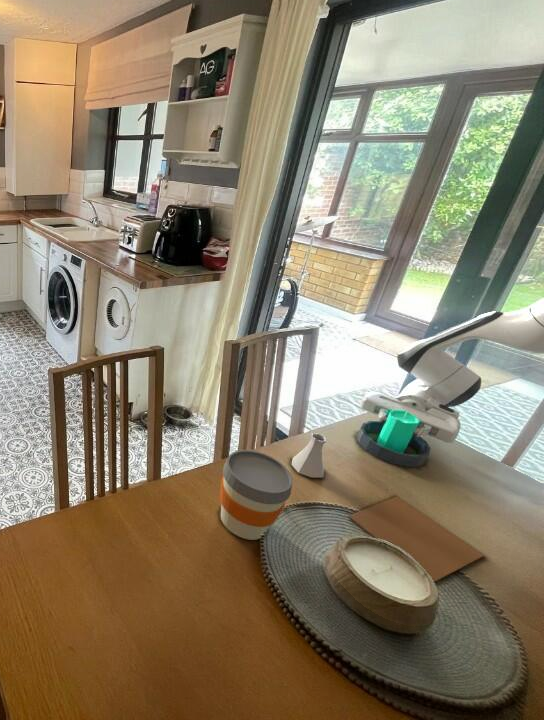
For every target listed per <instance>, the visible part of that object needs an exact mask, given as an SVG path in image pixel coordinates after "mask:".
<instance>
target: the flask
mask: <svg viewBox="0 0 544 720" xmlns="http://www.w3.org/2000/svg"><path fill="white" fill-rule="evenodd" d="M310 437H311V439H310V440H309V442H308V444H307V445H306V446H304V448H303V449H302V450H301V451H300V452H298V453H297V454H296V455H294V456H293V457H292V461H291V466H292V467H293V468H294V469H295V471H296V472H297V473H298V474H301V475H304V476H305V477H308V478H311V479H313V478H324V474H325V469H324V459H323V447H324V444H326V443H327V438H326V437H325V436H324V434H321V433H317V432H315V433H311V436H310Z"/></svg>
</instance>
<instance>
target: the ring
mask: <svg viewBox="0 0 544 720" xmlns="http://www.w3.org/2000/svg"><path fill="white" fill-rule="evenodd" d="M384 424H385V423H382V422H380V420H369V421H365V422H362V424H361V426H360V428H359V430H358V433H357V435H356V440H357V443H358V445H360V446H361V447H362V448H363V449H364V450H365V451H366V452H368V453H369V454H371V455H372V456H373V457H375V458H378V459H379V460H382V461H384V462H387V463H390V464H393V465H396V466H401V467H404V468H405V467H406V468H408V467H409V468H418V467H420V466H423V465H424V464H425V463H426V461H427V459H428V457H429V455H430V453H431V450H432V449H431V446H430V445H429V443H428V442H427V441H426V439H424V438H423V437H422V436H420V437H417V436H415V435H413V436H412V438H411V440H410V442H409V444H408V445H409V446H411V447H412V448H413V449H414V450H416V451H417V452H418V453H419V454H412V453H411V454H410V453H405V452H404V453H401V452H396V451H394V450H391V449H389V448H386V447H384V446H382V445H380V444H378V443H377V441H375V440H374V439H372V438H371V437H370V436H369V435H368V434H367V433H378V434H380V433H381V431H382V428H383V426H384Z"/></svg>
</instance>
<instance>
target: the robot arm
mask: <svg viewBox="0 0 544 720" xmlns="http://www.w3.org/2000/svg"><path fill="white" fill-rule="evenodd" d="M468 340H483V341H488V342H492V343H496V344H499V345H502V346H505V347H508V348H511V349H514V350H516V351H521V352H524V353H530V354H544V297H543V298H541V299H540V300H538V301H536V302H534V303H532V304H531V305H529V306H527V307H525V308H522V309H519V310H514V311H508V312H503V311H496V310H494V311H489V312H487V313H483V314H480V315H478V316H476V317H473V318H470V319H468V320H466V321H463V322H461V323H458V324H456V325H454V326H452V327H449V328H447V329H445V330H442V331H440V332H438V333H436V334H433V335H431V336H429V337H426V338H424V339H420V340H418V341H415V342H412V343H409V344H408V345H406V346H405V347H403V348H402V349H401V350H400V351H399V352H398V353H397V358H396V359H397V364H398V367H399V368H400V369H402V370H403V371H406V373H407V374H409V375H412V376H413V377H414V378H415V379H414V380H413V381H411V382H410V383H408V384H407V385H406V386H405V387H404V388H403V389H402V391H401V392H400V393H399V394H398V395H396V397H392V396H390V395H386V394H384V393H381V392H377V391H371V392H368V393H366V394H365V395H364V396H363V397H362V399H361V401H360V404H359V407H360V409H362V410H363V411H364V412H365V411H366V412H368V413H371V414H373V415H376V416H377V417H378V418H379V421H380V422H382V423H386V421H387V418H388V415H389V413H390V412H391V411H392V410H405V411H407V412H409V413H411V414H412V415H414V416H415V417H416V418H418V420H419V421H420V422H419V424H418V426H417V428H416V429H415V430H414V432H413V434H412V435H415V436H417V437H421V436H430V437H432V438H435V439H437V440H439V441H443V442H444V443H448V444H449V443H450V444H452V443H454V442H455V440H456V439H457V437H458V435H459V433H460V430H461V421H460V420H459V417H460V412H459V411H457V410H455V409H453V408H454V407H457V406H460V405H462V404H464V403H466V402H468V401H470V399H472V398H474V396H475V395H477V393H478V392H479V391H480V390H481V387H482V378H481V376H480V375H479V374H477V373H476V372H475V371H473V370H472V369H470V368H469V367H468V366H466V365H465V364H463V363H462V362H460V361H459V360H457V359H455V358H454V357H453V356H452V355H450V354H449V353H447V352H446V351H445V349H448V348H451V347H453V346H455V345H458V344H460V343H463V342H466V341H468Z"/></svg>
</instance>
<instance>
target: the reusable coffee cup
mask: <svg viewBox="0 0 544 720" xmlns="http://www.w3.org/2000/svg"><path fill="white" fill-rule="evenodd" d="M222 475H223V476H222V478H221V481H220V492H219V493H220V494H219V499H220V503H221V507H220V519H221V522H222V524H223V525H224V527H225V528H226V529H227V530H228V531H229V532H230V533H232V534H233V535H235V536H237V537H239V538H241V539H244V540H251V541H254V540H256V541H257V540H259V539H261V538H262V537H261V536H260V535H261V534H263V533H264V532H266V533H267V531H268V529H269V528H270V526H271V525H273V524H274V523H275V522H276V521H277V519H278V517H279V516H280V514H281V513H282V511H283V509H284V507H285V506H286V501H288V499H290V497H291V494H292V488H293V482H294V479H293V476H292V473H291V472H290V469H288V468H287V467H286V465H284V464H283V463H282V462H281V461H280V460H278V459H276V458H275V457H273V456H271V455H269V454H266V453H264V452H261V451H257V450H252V449H239V450H235V451H233V452H231V453H230V454H229V455H228V456H227V459H226V461H225V462H224V465H223V468H222Z"/></svg>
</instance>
